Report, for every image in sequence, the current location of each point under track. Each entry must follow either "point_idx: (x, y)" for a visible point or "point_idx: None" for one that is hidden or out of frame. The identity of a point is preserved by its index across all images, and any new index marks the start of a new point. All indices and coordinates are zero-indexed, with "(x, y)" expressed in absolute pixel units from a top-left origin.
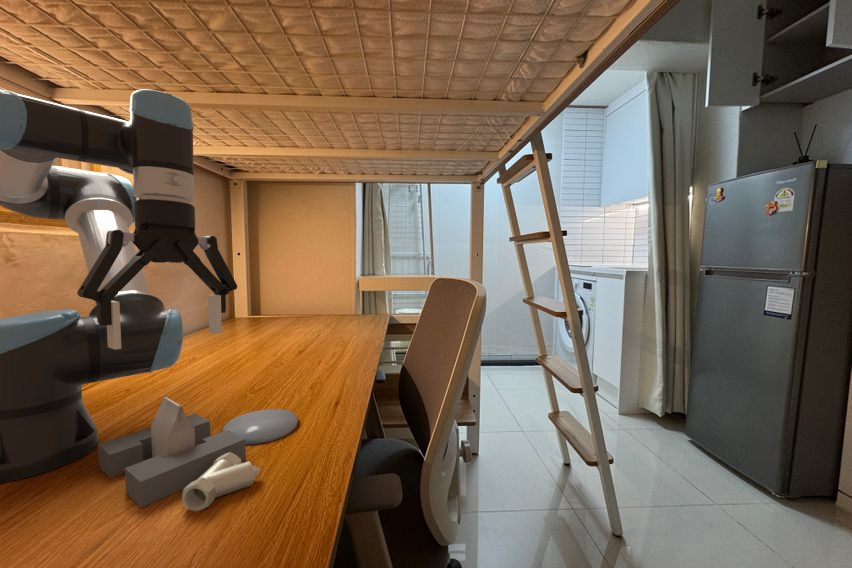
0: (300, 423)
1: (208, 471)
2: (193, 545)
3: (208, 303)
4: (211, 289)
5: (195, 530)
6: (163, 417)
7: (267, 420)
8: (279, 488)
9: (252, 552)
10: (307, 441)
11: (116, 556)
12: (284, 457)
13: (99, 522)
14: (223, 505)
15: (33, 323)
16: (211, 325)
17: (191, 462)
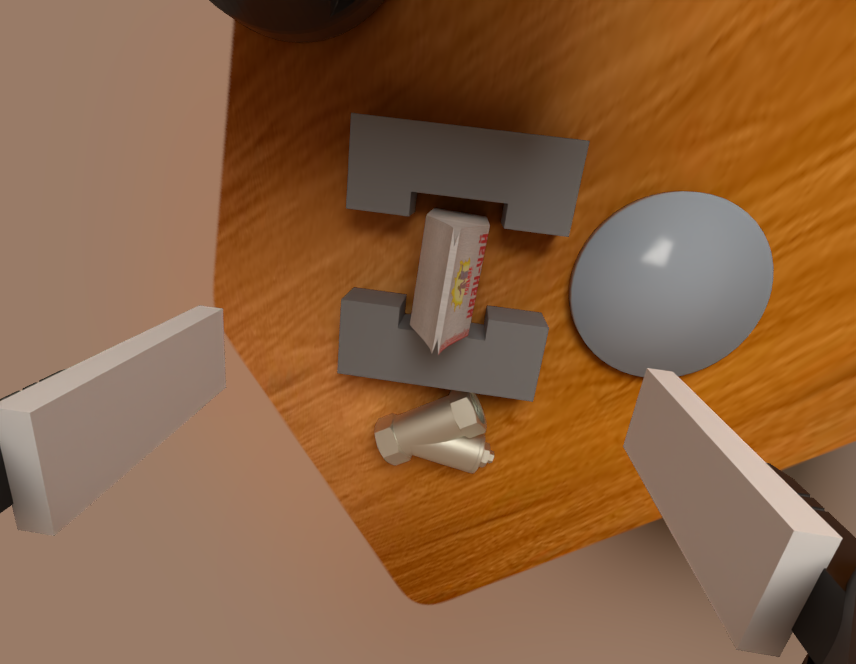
0: None
1: (418, 436)
2: (352, 483)
3: (740, 471)
4: (847, 603)
5: (367, 464)
6: (431, 270)
7: (687, 294)
8: (487, 492)
9: (382, 546)
10: None
11: (292, 423)
12: (567, 436)
13: (301, 334)
14: None
15: None
16: (653, 415)
17: (420, 384)
